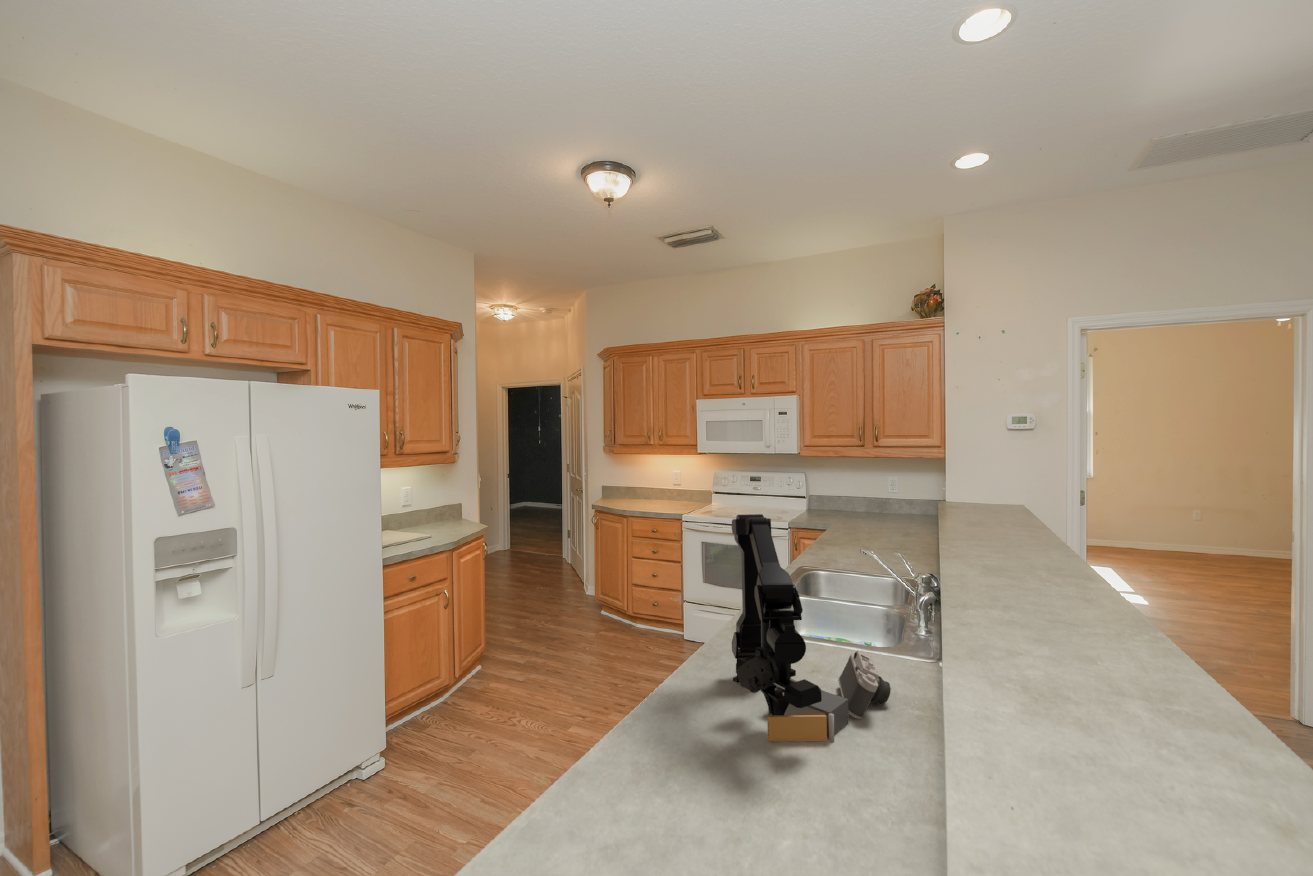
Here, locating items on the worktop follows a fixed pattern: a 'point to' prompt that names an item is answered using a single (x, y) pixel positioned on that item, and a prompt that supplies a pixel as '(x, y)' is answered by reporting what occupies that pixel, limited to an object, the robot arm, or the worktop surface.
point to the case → (826, 712)
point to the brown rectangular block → (797, 727)
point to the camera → (862, 684)
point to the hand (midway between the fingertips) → (776, 722)
